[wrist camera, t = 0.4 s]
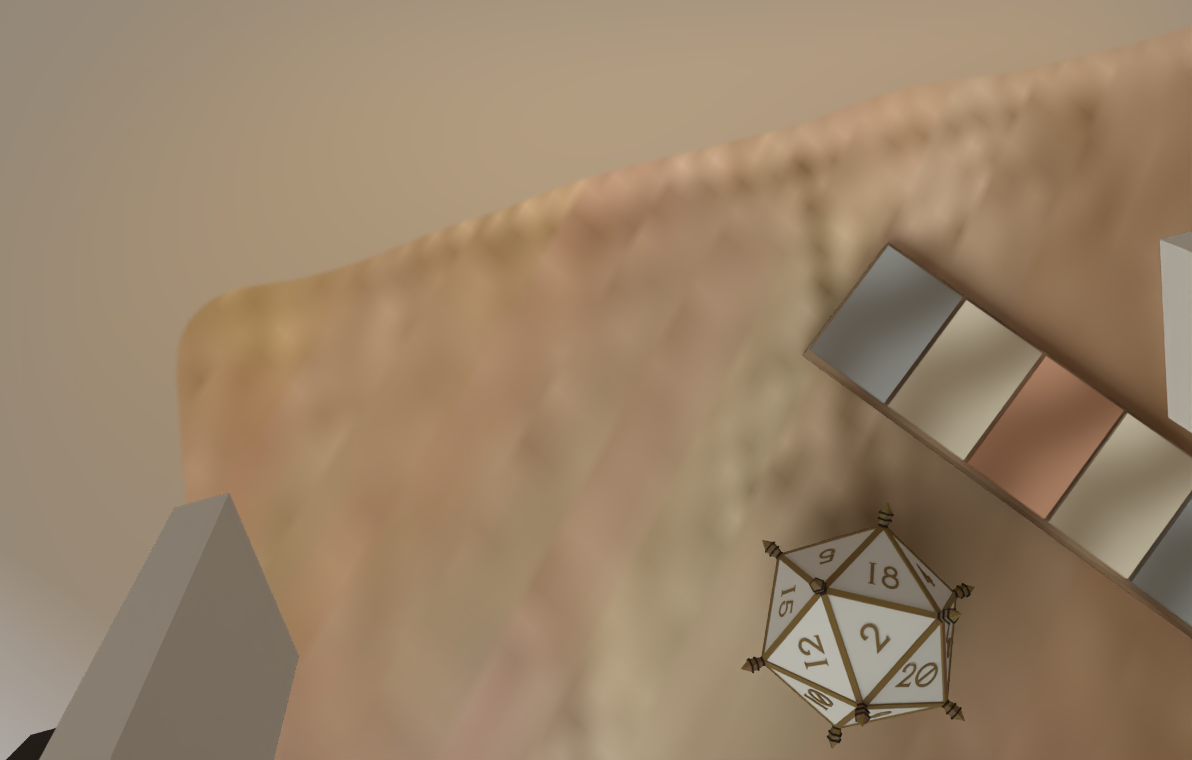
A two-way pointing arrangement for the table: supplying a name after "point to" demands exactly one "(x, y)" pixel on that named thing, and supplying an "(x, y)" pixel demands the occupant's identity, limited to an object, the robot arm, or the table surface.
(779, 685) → the table surface
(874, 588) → the game die
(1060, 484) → the board
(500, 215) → the table surface
